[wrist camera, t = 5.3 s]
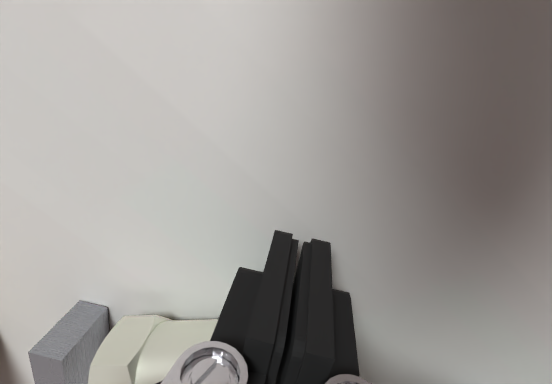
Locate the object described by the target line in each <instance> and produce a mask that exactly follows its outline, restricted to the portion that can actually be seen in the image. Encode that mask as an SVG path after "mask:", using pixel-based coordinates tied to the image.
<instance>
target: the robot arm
mask: <svg viewBox="0 0 552 384" xmlns="http://www.w3.org/2000/svg"><path fill="white" fill-rule="evenodd" d="M292 235H293V234H290V233H286V232H282V231H277V230H275V232H274V236H273V240H272V243H271V247H270V251H269V254H268V258H267V262H266V265H265V269H264V272H259V271H255V270H251V269H246V268H242V267H239V269H238V271H237V274H236V276H235V279H234V281H233V284H232V286H231V289H230V291H229V294H228V296H227V299H226V301H225V304H224V306H223V309H222V311H221V314H220V317H219V319H218V322H217V324H216V327H215V329H214V332H213V334H212V337H211V339H210V341H205V342H201V343H198V344H195V345H193V346H191V347H190V348H188V349H187V350H185V351H184V352H183V353H182V354H181V355H180V357H179V358H178V359H177V360H176V362H175V363H174V365H173V366H172V368H171V369H170V371H169V372H168V373H167V375H166V376H165V378H164V379H163V380H162V381H160V382H158V383H156V384H372V383H370V382H368V381H367V380H365V379H363V378H361V377H359V368H358V359H357V350H356V341H355V332H354V323H353V315H352V306H351V298H350V294H349V293H348V292H344V291H339V290H335V289H332V270H331V245H330V243H329V242H325V241H321V240H316V239H312V240H311V243H308V242H304V243H303V247H302V251H301V255H300V259H299V262H298V266H297V270H296V274H295V278H294V272H295V265H296V257H297V250H298V242H299V240H295V239H292ZM293 280H294V282H293Z"/></svg>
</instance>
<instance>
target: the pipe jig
mask: <svg viewBox="0 0 552 384" xmlns="http://www.w3.org/2000/svg"><path fill="white" fill-rule="evenodd" d="M108 333H109V323H108V308H107V307H104V306H100V305H96V304H92V303H88V302H84V301H79V302H78V303H77V304H76V305H75V306H74V307H73V308H72V309H71V310H70V311H69V312H68V313H67V314H66V315H65V316H64V317H63V318H62V319H61V320H60V321H59V322H58V323H57V324H56V325H55V326H54V327H53V328H52V329H51V330H50V331H49V332H48V333H47V334H46V335H45V336H44V337H43V338H42V339H41V340H40V341H39V342H38V343H37V344H36V345H35V346H34V347H33V348H32V349H31V350H30V351H29V352H28V354H29V358H30V363H31V368H32V372H33V377H34V381H35V384H88V377H89V370H90V365H91V363H92V360H93V358H94V356H95V354H96V352H97V350H98V349H99V347H100V345H101V344H102V342H103V340H104V339H105V337H106V336H107V335H108Z"/></svg>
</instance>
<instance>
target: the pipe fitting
mask: <svg viewBox="0 0 552 384" xmlns="http://www.w3.org/2000/svg"><path fill="white" fill-rule="evenodd" d="M217 322H218V319H210V320H175V321H173V320H171V319H168V318H165V317H162V316H159V315H133V316H123V317H122V318H121V319H120V320H119V322H118V323H117V324H116V325H115V326H114V327H113V328H112V330H111V331H110V332H109V333H108V335H107V336H106V337H105V339H104V340H103V342H102V344H101V345H100V347H99V349H98V350H97V352H96V354H95V356H94V358H93V360H92V363H91V365H90V370H89V377H88V384H156V383H158V382H160V381H162V380H163V379H164V378H165V376H166V375H167V373H168V372H169V371H170V369H171V368H172V366H173V365H174V363H175V362H176V360H177V359H178V358H179V357H180V355H181V354H182V353H183V352H184V351H185V350H187V349H188V348H190V347H191V346H193V345H195V344H198V343H201V342H205V341H210V339H211V337H212V334H213V332H214V329H215V327H216V324H217Z"/></svg>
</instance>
